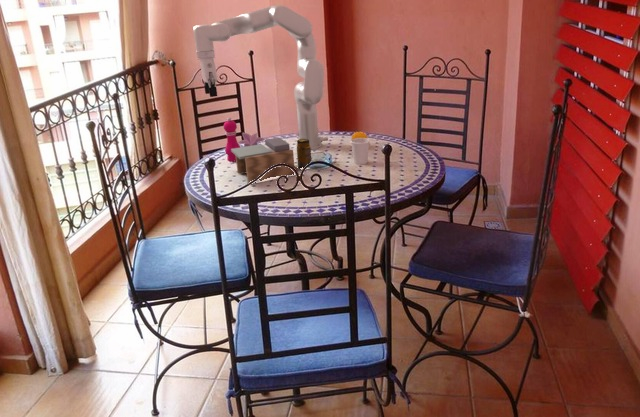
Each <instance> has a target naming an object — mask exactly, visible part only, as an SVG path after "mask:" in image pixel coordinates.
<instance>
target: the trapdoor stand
mask: <svg viewBox="0 0 640 417" xmlns="http://www.w3.org/2000/svg"><path fill="white" fill-rule="evenodd" d="M263 143H264V144H265V142H263ZM235 156H236V155H235ZM235 162H236V163H235V164H236V170H237V171H236V173H237V174H245V173H246V178H247V179H246V180H247V184H248V183H249V182H250V181H252V180H254V179H256V178H257V177H258V176H259V175H261V174H262V173H263V172H264V171H265V170H267V169H268V168H270V167H271V166H273V165H276V164H280V163H285V164H288V165H290V166H292V167H294V168H295V169H296V171H297V172H298V173H299V169H298V168H297V167H295V156H294V149H290V150H286V151H280V152H274V153H268V154H263V155H257V156H251V157H245V159H239V158H238V157H237V156H236V161H235ZM292 174H293V175H294V172H293V171H292V170H291V169H290V168H288V167H285V166H281V167H276V168H273V169H272V170H270V171H269V172H267V173H266V174H265V175H264V176H263V177H262V178H261V179H259V180H260V181H262V180H264V179H267V178H270V177H276V176H281V175H286V176H287V175H292ZM255 184H257V183H256V182H255Z"/></svg>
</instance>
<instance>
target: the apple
mask: <svg viewBox="0 0 640 417" xmlns="http://www.w3.org/2000/svg"><path fill="white" fill-rule="evenodd" d="M356 138H367V139H369V138H368V136H367V134H366V133H365V132H363V131H355V132H354V133H353V134H352V135H351V140H352V139H356ZM351 140H350V141H351Z"/></svg>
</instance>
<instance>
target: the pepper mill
mask: <svg viewBox="0 0 640 417" xmlns="http://www.w3.org/2000/svg"><path fill="white" fill-rule="evenodd" d="M226 120H227V121H225V122H224V123H223V130H224V131H225V132H224V133H225V135H226V145H225V147H224V148H225V151H224V152H225V154H226V155H227V156H226V158H227V161H228V162H230V163H231V162H236V156H235V154H234V153H232V152H231V149H234V148H240V147H241V146H240V143H238V142H239V141H238V140H237V129H238V126H237V123H236V121H234V120H232V118H231V117H227V119H226Z"/></svg>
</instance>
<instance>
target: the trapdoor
mask: <svg viewBox="0 0 640 417" xmlns="http://www.w3.org/2000/svg"><path fill="white" fill-rule="evenodd" d="M264 143H265V144H264ZM257 144H258V145H252V146H246V147H244V146H242V147H241V146H240V148H234V149H231V152H232V153H234V154H235V155H236V156H237V157H238V158H239V159H245V157H251V156H257V155H263V154H268V153H274V152H280V151H286V150H291V148H290V147H291V146H290V143H289V142H287V141H285V140H284V139H282V138H280V137H274V138H273V137H272V138H267V139H265V140H264V142H261V143H260V144H259V143H257Z"/></svg>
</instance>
